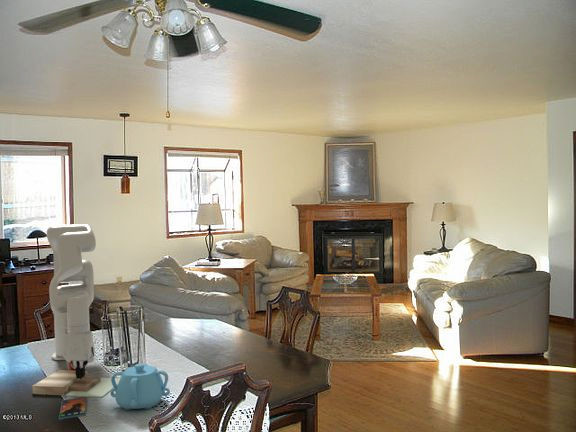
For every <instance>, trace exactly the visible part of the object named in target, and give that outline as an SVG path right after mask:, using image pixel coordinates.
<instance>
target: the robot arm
mask: <svg viewBox="0 0 576 432" xmlns="http://www.w3.org/2000/svg"><path fill="white" fill-rule="evenodd" d="M46 238H47V241H48V243H49V245H50V247H51V250H52V254H53V277H52V279H51V281H50V284H49V289H48V290H49V302H50V303H49V304H50V309H51V311H52V312H53V320H54V321H53V322H54V345H55V346H54V347H55V352H53V354H52V355H51V359H52V360H54V361H65V362H66V363H67V362H70V363H72V364H73V366H74V368H75V373H76V379H78V378H79V379H81V378H83V377H84V376H85V371H86V366H87V365H88V364H91V363H94V362H95V359H94V357H95V344H94V342H95V341H94V337H93V334H92V331H91V330H90V329H91V328H90V326H91V325H90V306H91V305H92V303H93V301H94V299H95V284H94V283H95V282H94V267H93V263H92V262H91V261H90V260H88V259H82V258H83V257H82V253H89V252H90V253H91V252H94V251H95V249H96V245H97V243H96V237H95V232H94V231H93V229H92V228H91V226H90V225H89V224H85V223H84V224H83V223H81V224H59V225H58V224H57V225H52V226H49V227H48V228H47V230H46ZM79 282H81V283H79ZM69 283H72V284H69ZM73 283H75V284H73ZM60 284H64V285H60Z"/></svg>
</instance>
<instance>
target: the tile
mask: <svg viewBox="0 0 576 432" xmlns="http://www.w3.org/2000/svg"><path fill="white" fill-rule="evenodd" d="M100 378H101V377H98V376H97V377H96V376H87V377H83V378H81V379H79V380H78V381H76V382H75V383H74V384H72V385H71V386H69V392H70V391H84V392H87V391H88V390H90V389H91V388H92V387H94V386H95V385H96V384H98V383H99V382H100V381H101V379H100Z"/></svg>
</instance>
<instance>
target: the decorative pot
mask: <svg viewBox="0 0 576 432" xmlns="http://www.w3.org/2000/svg"><path fill="white" fill-rule="evenodd" d="M161 375H163V376H164V380H163V378H162V376H161ZM117 376H120V378H119V379H120V381H119V383H118V385H116V382H115V378H116V377H117ZM110 378H111V382H112V385H113V389H112V390H111V391H110V396H111V397H112V398H114V399H115V402H116V404H117V405H118V406H119V407H120V408H122V409H124V410H126V411H128V410H129V411H130V410H135V409H136V410H137V409H138V410H139V409H144V410H150V409H152V407H154V406H156V405H158V404H159V402H160V401H161V399H162V398H163V397H167V396H169V395H170V393H171V391H170V389H169V388H168V387H167V385H168V382H169V375H168V373H167V372H166V371H164V370H158V368H157V367H156V366H153V365H148V364H147V363H146V364H145V363H136V364H135V365H134V366H130V367H127V368H126V369H125V370H124V371H117V372H114V374H113V375H111V377H110Z"/></svg>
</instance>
